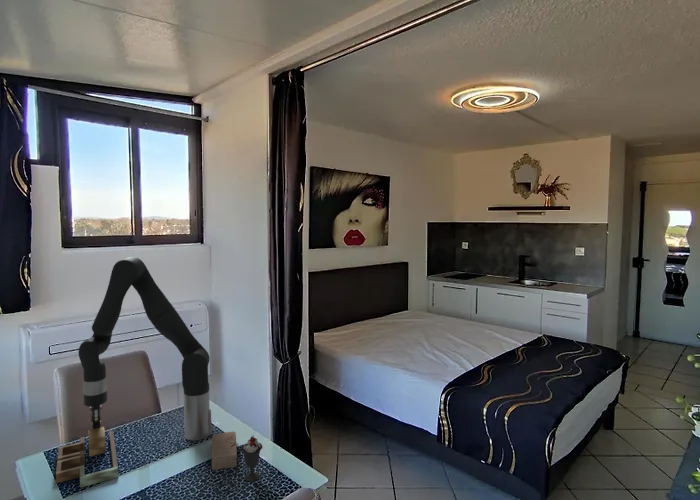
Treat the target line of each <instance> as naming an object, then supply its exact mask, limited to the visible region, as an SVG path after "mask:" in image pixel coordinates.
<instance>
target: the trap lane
mask: <svg viewBox="0 0 700 500" xmlns="http://www.w3.org/2000/svg"><path fill="white" fill-rule="evenodd" d="M108 432H109V435H108V436H109V437H108V438H109V439H108V440H109V445H110V446H109V447H110V454H111V455H110V456H111V463H112V464H111V465H112V467H110V468H105V469H103V470H99V471H96V472H92V473H87V474H85V463H86V462H85V459H86V458H85V452H86V451H85V450H86V449H85V446H86V445H85V436H81V437H80V438H79V440H80V441H79V442H75V443H71V444H67V445H62V446H59V447H58V450H57V462H56V469H55V482H56V484H59V483H63V482H67V481H71V480H75V479H77V478H79V487H80V488H84V487H87V486H91V485H94V484H98V483H103V482H106V481H109V480H113V479H116V478H119V466H118V459H117V452H116V451H117V450H116V443H115V436H114V430H109V431H108Z"/></svg>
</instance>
